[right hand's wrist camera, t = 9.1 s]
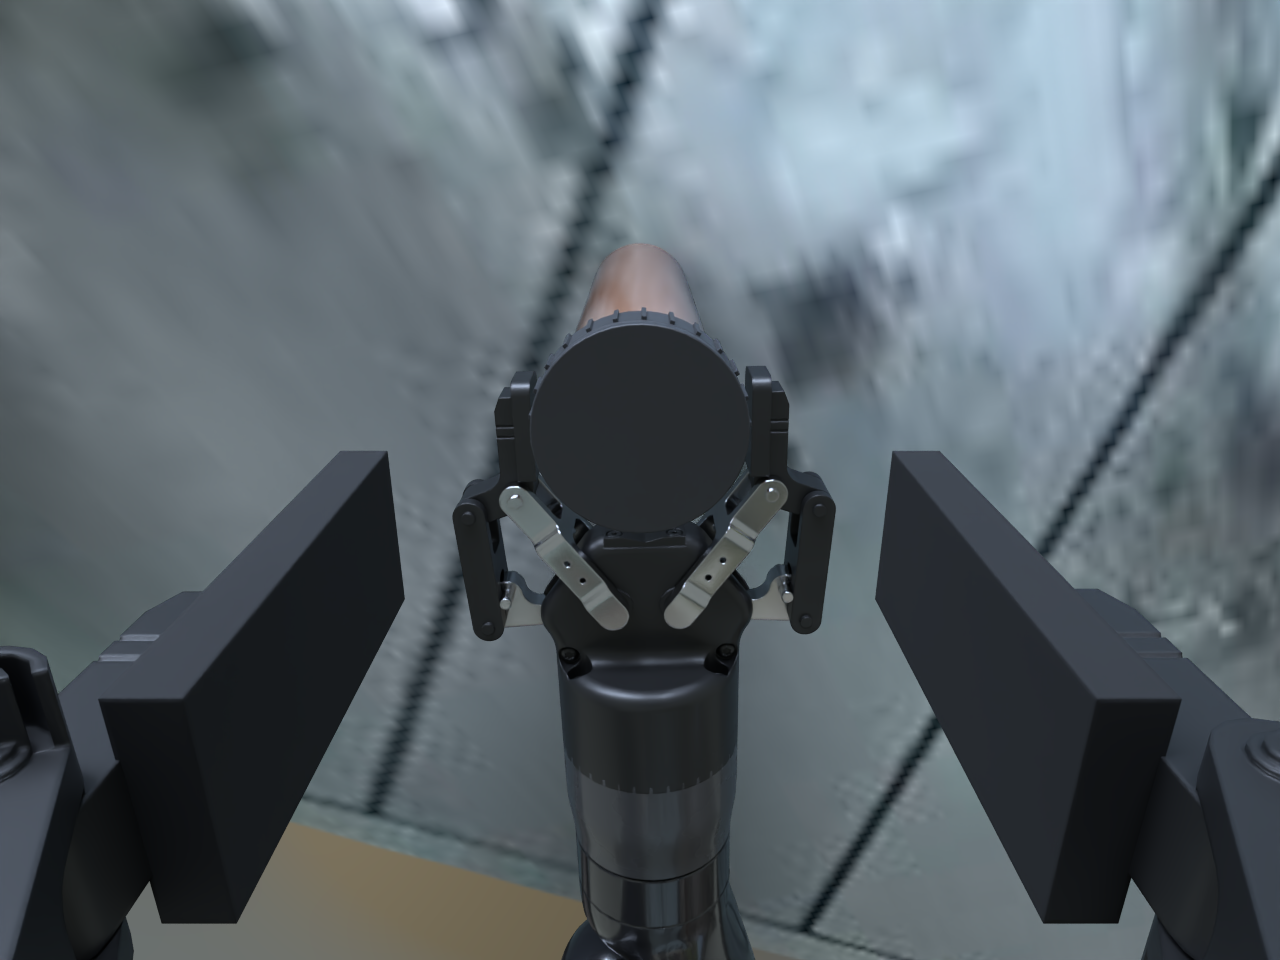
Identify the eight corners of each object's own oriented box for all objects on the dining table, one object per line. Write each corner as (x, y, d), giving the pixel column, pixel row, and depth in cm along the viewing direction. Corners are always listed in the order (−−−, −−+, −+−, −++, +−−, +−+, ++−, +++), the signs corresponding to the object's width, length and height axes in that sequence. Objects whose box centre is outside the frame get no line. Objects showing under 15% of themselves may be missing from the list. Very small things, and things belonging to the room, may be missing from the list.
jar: (606, 231, 35) (574, 313, 18) (700, 260, 36) (757, 366, 18) (581, 325, 37) (529, 485, 19) (671, 352, 37) (699, 530, 20)
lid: (563, 279, 19) (557, 290, 17) (775, 341, 19) (786, 357, 18) (512, 479, 21) (503, 504, 19) (707, 531, 21) (712, 560, 20)
